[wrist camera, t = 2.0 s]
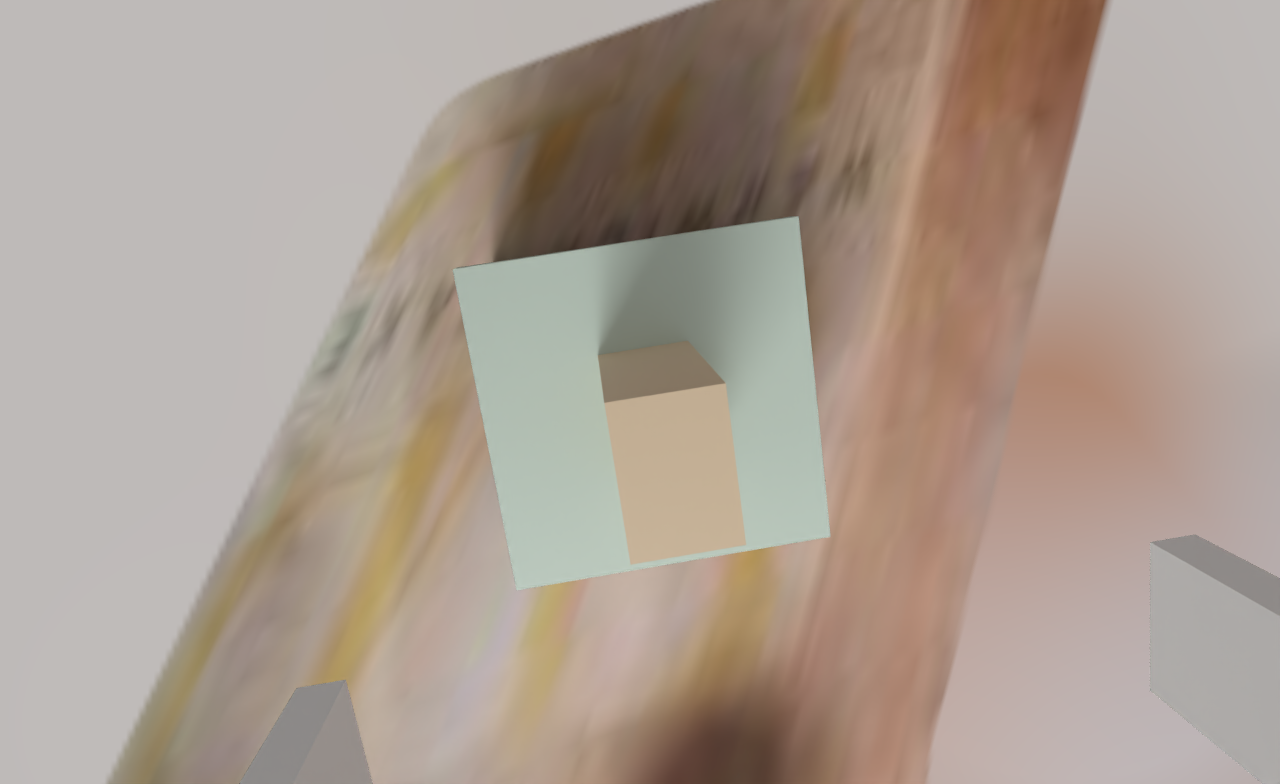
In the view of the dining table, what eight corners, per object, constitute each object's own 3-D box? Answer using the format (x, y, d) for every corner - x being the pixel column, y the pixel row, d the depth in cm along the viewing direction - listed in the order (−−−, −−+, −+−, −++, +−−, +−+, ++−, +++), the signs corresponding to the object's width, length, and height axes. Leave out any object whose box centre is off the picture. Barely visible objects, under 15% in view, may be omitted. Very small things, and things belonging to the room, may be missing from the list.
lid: (520, 568, 34) (496, 710, 24) (460, 266, 31) (406, 288, 21) (816, 518, 34) (910, 637, 25) (785, 216, 31) (877, 215, 22)
